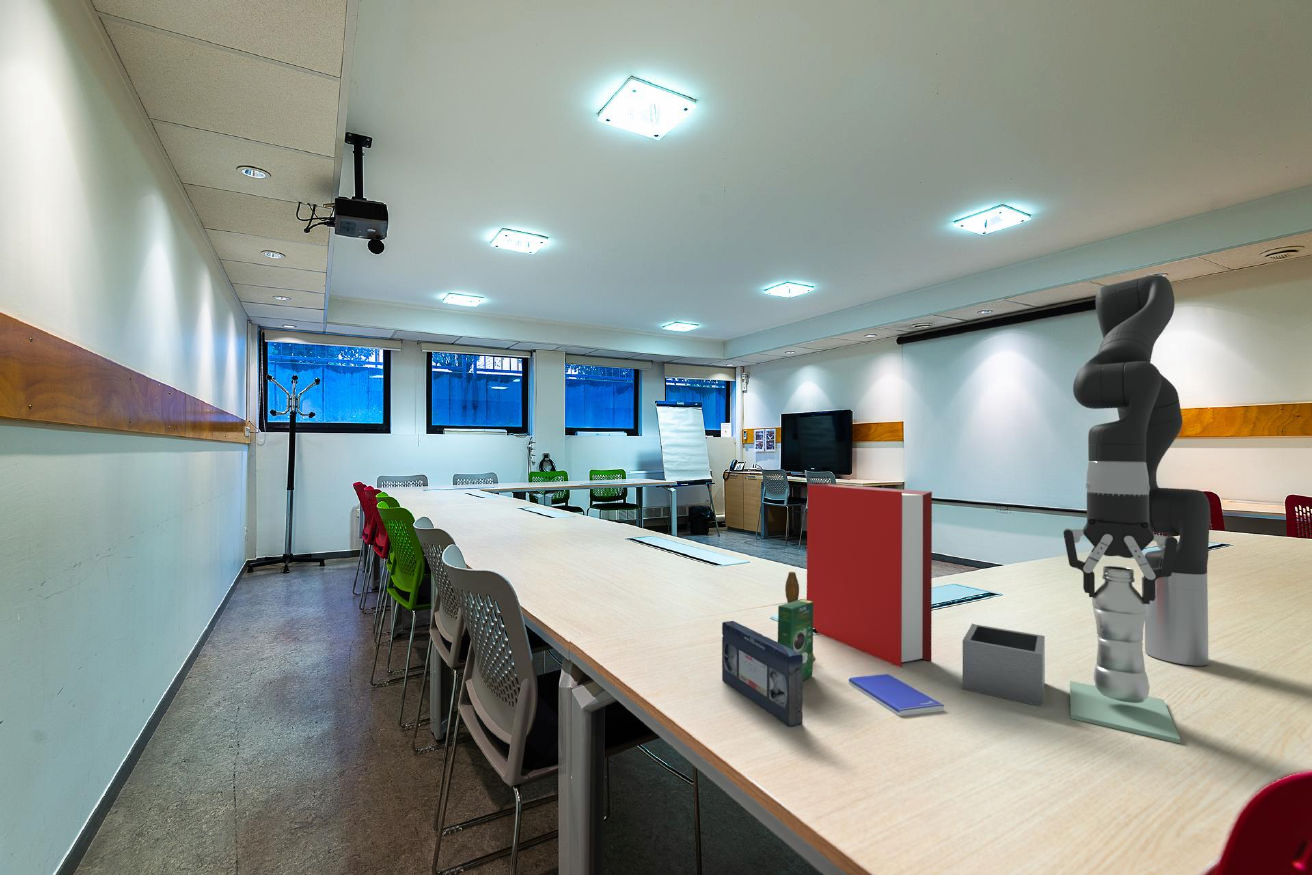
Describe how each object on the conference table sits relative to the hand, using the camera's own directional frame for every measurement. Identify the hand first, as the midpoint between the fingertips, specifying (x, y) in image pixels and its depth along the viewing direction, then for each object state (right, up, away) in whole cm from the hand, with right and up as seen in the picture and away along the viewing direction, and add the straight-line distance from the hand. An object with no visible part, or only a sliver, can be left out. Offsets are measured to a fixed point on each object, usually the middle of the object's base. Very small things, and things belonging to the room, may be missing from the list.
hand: (1117, 599), depth 88 cm
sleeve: (-13, -17, +8) cm, 23 cm away
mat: (0, -17, -1) cm, 17 cm away
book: (-29, -18, +30) cm, 45 cm away
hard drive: (-33, -17, +3) cm, 38 cm away
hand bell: (-45, -17, +21) cm, 53 cm away
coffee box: (-48, -17, +9) cm, 51 cm away
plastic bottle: (0, -15, -1) cm, 15 cm away
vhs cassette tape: (-56, -16, +1) cm, 58 cm away
